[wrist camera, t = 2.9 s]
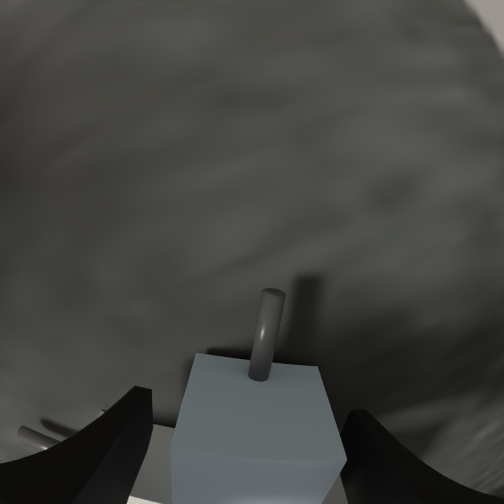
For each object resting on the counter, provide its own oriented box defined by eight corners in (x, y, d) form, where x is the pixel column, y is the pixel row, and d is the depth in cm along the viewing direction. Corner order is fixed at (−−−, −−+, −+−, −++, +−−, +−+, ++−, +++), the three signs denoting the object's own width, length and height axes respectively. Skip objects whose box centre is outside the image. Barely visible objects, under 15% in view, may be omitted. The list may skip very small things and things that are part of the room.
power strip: (338, 501, 14) (352, 562, 9) (44, 452, 13) (14, 503, 9) (376, 439, 12) (406, 512, 8) (18, 380, 12) (-30, 433, 7)
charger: (282, 469, 12) (290, 547, 8) (189, 460, 12) (175, 539, 8) (337, 291, 10) (390, 366, 6) (203, 272, 10) (170, 345, 6)
